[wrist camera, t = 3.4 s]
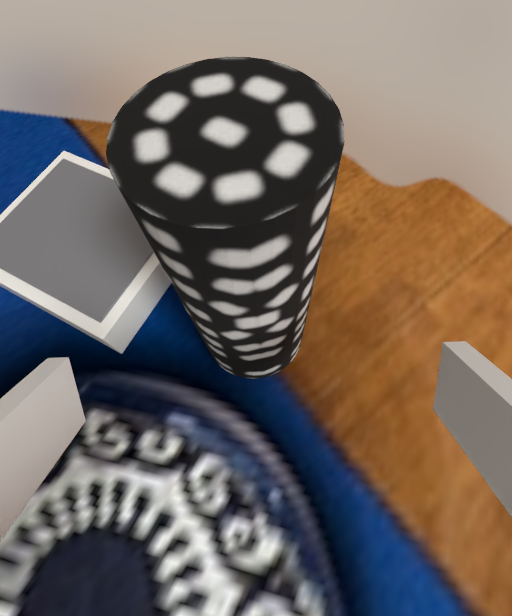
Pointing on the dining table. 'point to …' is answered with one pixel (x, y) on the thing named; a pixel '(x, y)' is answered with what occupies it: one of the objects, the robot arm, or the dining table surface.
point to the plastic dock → (81, 252)
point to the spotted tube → (233, 197)
